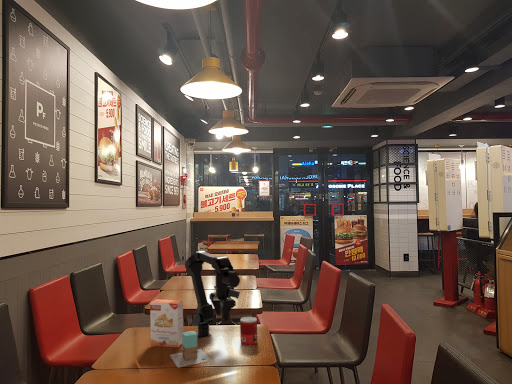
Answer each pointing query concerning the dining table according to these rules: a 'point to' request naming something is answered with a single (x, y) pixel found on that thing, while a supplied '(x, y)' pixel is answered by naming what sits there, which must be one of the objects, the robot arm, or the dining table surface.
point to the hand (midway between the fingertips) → (222, 318)
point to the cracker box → (166, 322)
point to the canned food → (248, 330)
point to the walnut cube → (189, 353)
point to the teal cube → (189, 339)
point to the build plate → (181, 361)
